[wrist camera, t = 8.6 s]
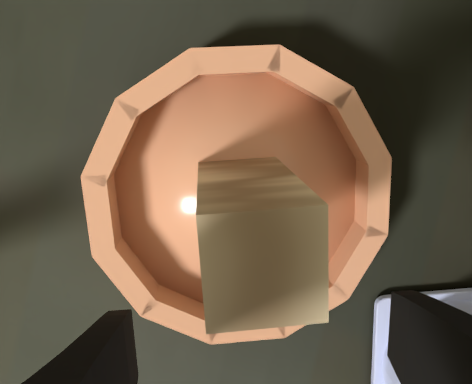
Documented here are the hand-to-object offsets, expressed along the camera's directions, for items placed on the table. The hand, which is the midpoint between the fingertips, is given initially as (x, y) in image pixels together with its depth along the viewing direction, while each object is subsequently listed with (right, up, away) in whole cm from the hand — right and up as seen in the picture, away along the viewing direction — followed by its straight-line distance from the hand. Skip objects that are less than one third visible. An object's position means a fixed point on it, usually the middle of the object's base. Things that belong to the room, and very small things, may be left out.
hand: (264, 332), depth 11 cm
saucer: (-1, +4, +9) cm, 9 cm away
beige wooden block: (-1, +4, +8) cm, 9 cm away
